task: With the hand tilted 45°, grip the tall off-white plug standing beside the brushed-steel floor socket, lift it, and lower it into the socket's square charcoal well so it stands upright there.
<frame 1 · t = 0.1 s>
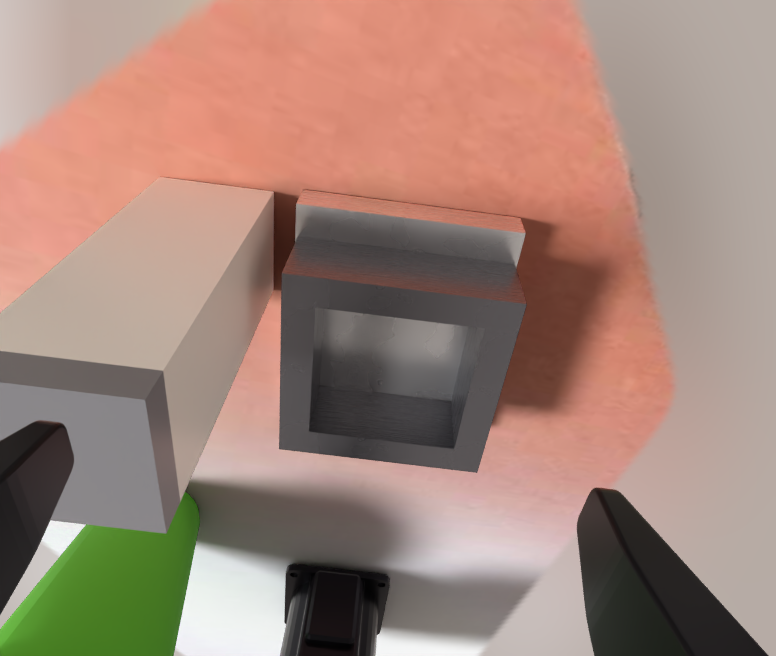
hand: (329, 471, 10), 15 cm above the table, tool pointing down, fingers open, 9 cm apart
plug: (219, 236, 24), on the table
cup: (159, 504, 34), on the table
socket: (394, 320, 25), on the table
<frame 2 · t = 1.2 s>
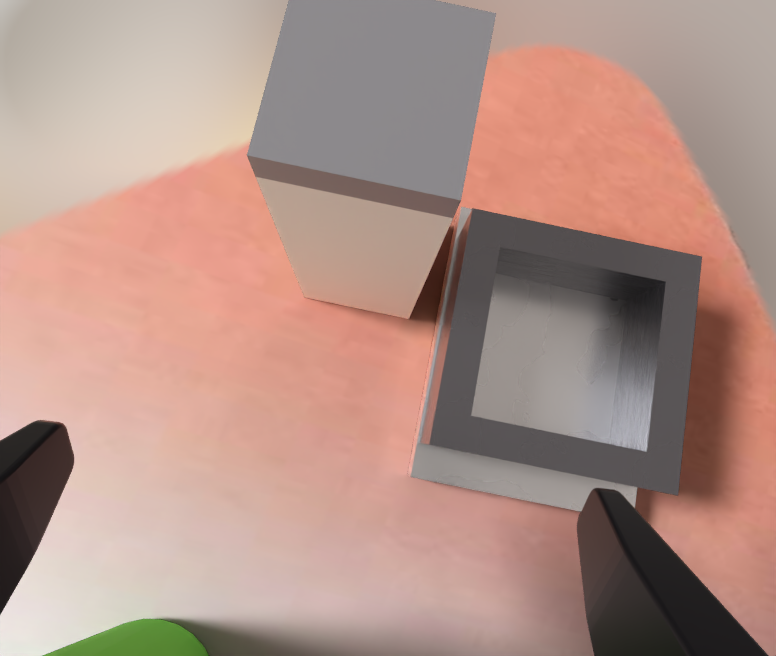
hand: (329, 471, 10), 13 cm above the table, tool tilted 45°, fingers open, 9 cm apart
plug: (367, 258, 24), on the table
socket: (532, 362, 24), on the table
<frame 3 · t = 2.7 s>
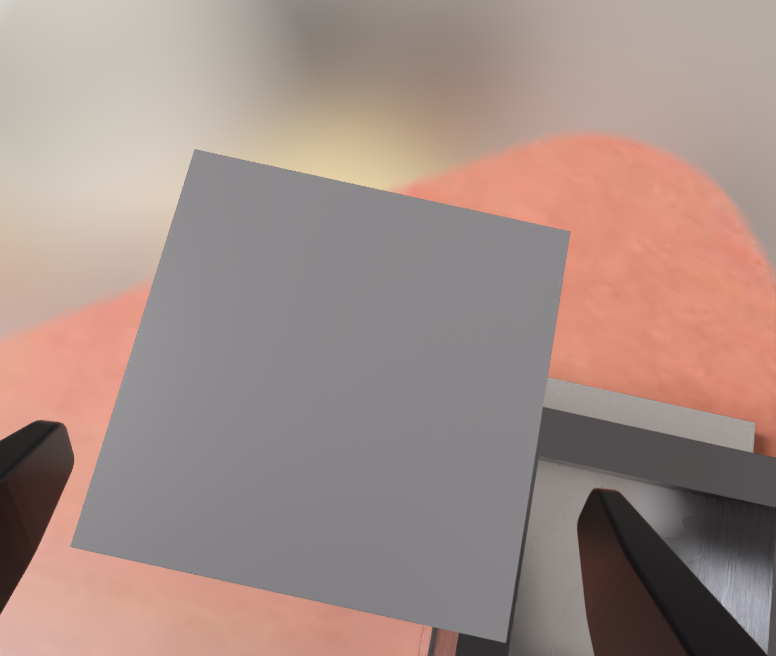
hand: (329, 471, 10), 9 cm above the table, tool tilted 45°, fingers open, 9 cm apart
plug: (355, 421, 18), on the table
socket: (574, 569, 18), on the table
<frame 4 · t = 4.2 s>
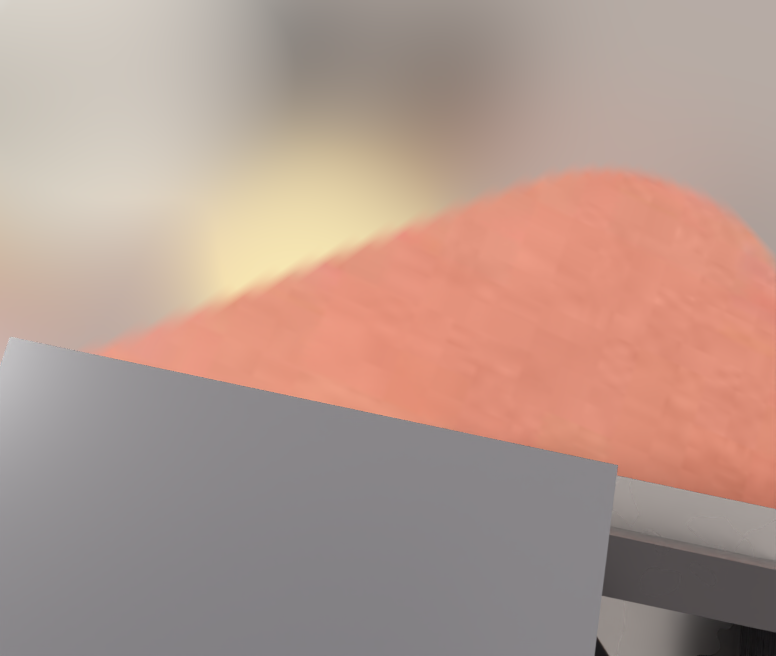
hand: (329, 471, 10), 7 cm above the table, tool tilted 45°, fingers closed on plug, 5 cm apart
plug: (335, 509, 16), on the table, touching gripper
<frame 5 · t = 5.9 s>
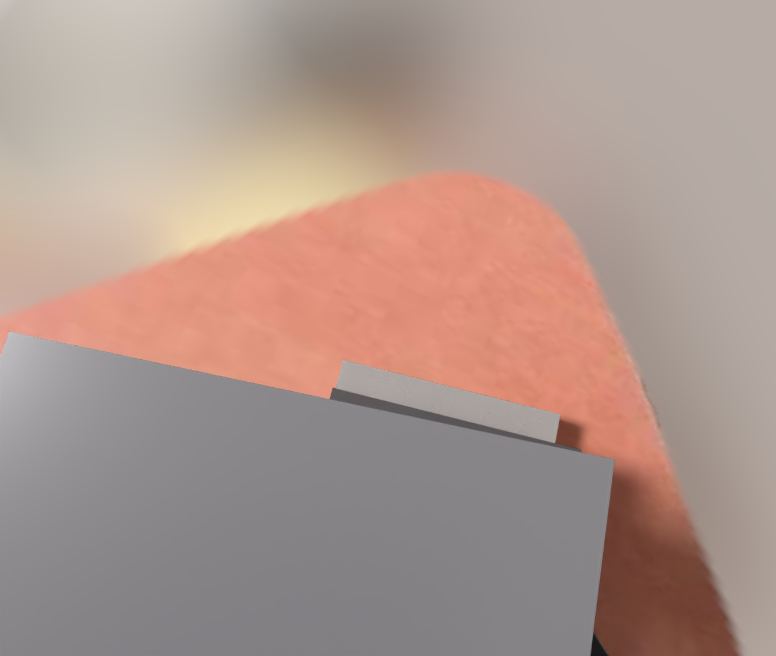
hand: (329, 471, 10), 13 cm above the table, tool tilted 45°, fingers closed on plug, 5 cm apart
plug: (335, 508, 16), point 7 cm above the table, touching gripper
socket: (415, 526, 22), on the table
when the fingers open (9 cm above the table, at t = 8.0 s): plug stays where it is, resting on socket.
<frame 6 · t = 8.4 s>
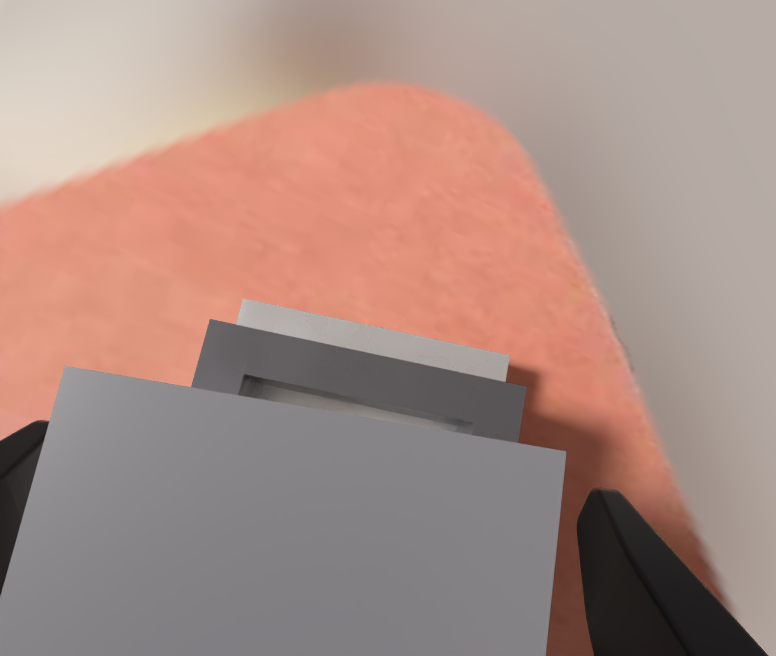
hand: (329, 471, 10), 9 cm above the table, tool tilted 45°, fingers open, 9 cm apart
plug: (336, 505, 17), point 1 cm above the table, touching socket
socket: (340, 499, 18), on the table
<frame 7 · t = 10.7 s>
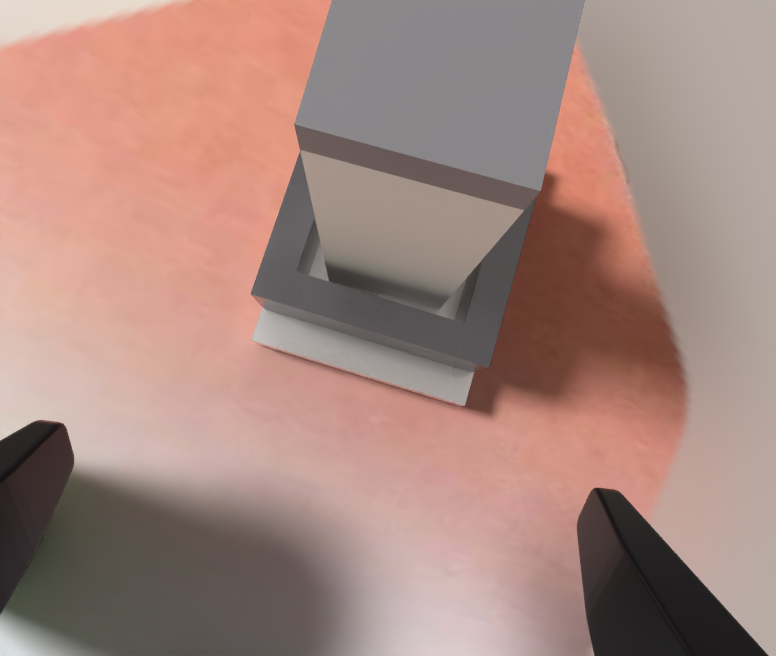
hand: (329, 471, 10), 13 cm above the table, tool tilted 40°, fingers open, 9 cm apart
plug: (398, 241, 23), point 1 cm above the table, touching socket
socket: (396, 251, 24), on the table
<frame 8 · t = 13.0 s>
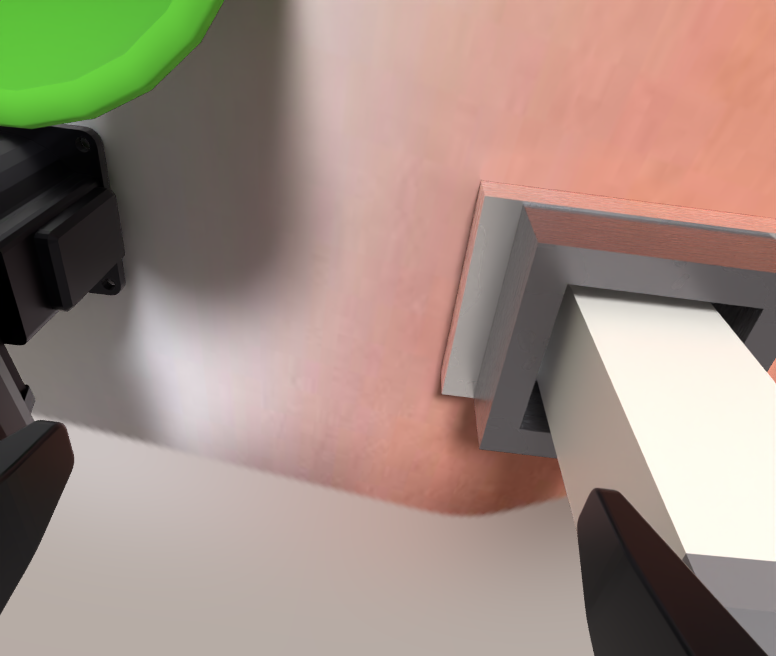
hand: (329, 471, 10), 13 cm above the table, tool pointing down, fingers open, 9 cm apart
plug: (606, 323, 21), point 1 cm above the table, touching socket
socket: (596, 303, 22), on the table
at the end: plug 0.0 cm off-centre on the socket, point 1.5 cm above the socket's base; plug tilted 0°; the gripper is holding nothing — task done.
